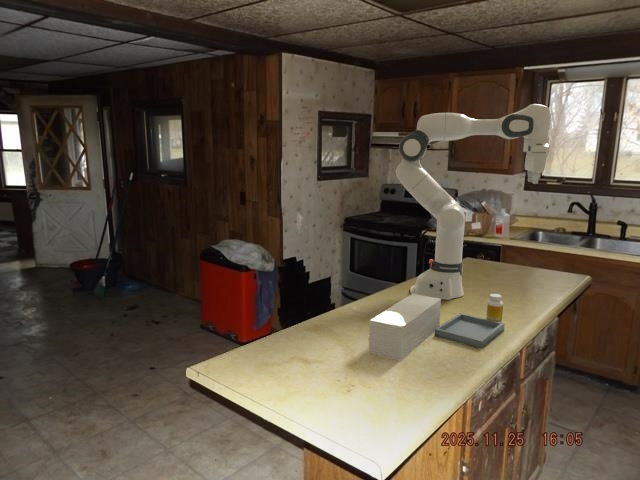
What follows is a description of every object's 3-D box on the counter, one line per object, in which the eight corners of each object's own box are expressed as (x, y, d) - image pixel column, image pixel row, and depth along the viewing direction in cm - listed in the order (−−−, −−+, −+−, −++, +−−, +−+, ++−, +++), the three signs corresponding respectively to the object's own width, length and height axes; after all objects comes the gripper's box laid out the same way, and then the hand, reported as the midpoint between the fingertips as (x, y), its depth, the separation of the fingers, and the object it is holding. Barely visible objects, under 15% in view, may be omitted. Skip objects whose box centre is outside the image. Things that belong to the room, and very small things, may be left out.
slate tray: (481, 348, 149) (481, 341, 149) (434, 335, 160) (434, 328, 159) (504, 330, 164) (504, 323, 164) (460, 319, 175) (460, 313, 174)
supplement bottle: (502, 324, 170) (505, 298, 168) (487, 323, 171) (489, 297, 169) (500, 318, 175) (502, 293, 173) (485, 317, 176) (486, 292, 174)
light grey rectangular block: (400, 361, 141) (401, 327, 139) (368, 353, 147) (369, 320, 145) (439, 328, 167) (441, 298, 165) (411, 321, 173) (412, 293, 171)
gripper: (522, 147, 197) (519, 180, 200) (532, 147, 177) (528, 184, 180) (538, 147, 196) (535, 181, 198) (550, 147, 176) (546, 184, 179)
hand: (532, 182), depth 189 cm, fingers open, 8 cm apart
